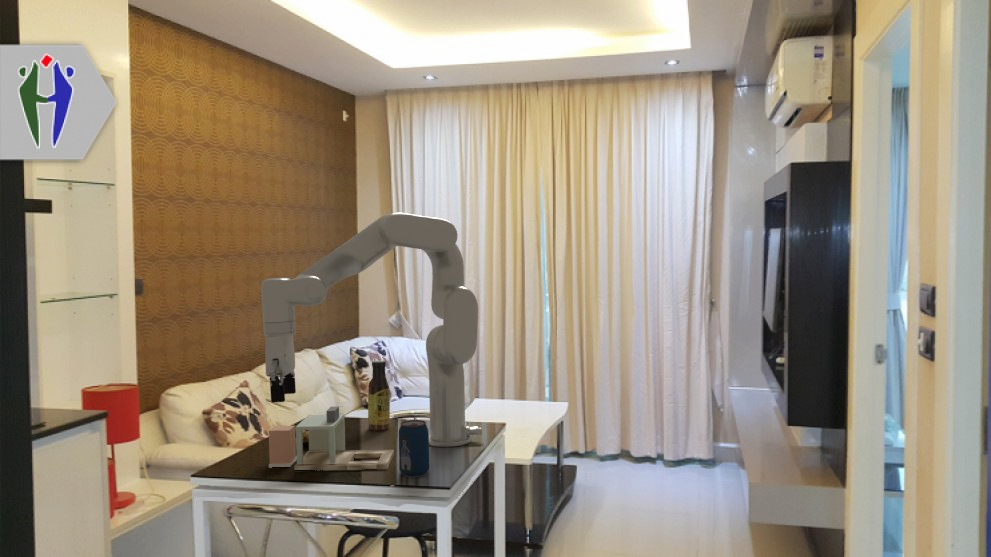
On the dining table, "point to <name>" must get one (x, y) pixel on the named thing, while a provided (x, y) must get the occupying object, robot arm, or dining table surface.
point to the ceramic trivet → (282, 464)
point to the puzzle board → (345, 460)
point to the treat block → (282, 444)
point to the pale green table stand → (322, 433)
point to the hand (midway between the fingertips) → (283, 397)
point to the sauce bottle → (378, 398)
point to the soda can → (414, 448)
